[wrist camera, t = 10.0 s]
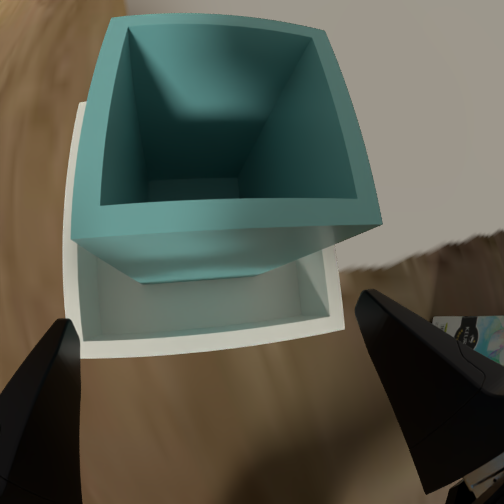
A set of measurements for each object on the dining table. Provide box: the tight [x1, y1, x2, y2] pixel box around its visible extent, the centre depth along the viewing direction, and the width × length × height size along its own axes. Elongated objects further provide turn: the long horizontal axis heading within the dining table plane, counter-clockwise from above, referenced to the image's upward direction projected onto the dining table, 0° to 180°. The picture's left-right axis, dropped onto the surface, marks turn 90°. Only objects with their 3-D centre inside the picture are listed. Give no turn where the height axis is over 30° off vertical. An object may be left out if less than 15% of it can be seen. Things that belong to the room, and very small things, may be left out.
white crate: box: [63, 102, 345, 359], centre depth 16 cm, size 14×14×4 cm
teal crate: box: [71, 13, 383, 285], centre depth 12 cm, size 7×7×12 cm
